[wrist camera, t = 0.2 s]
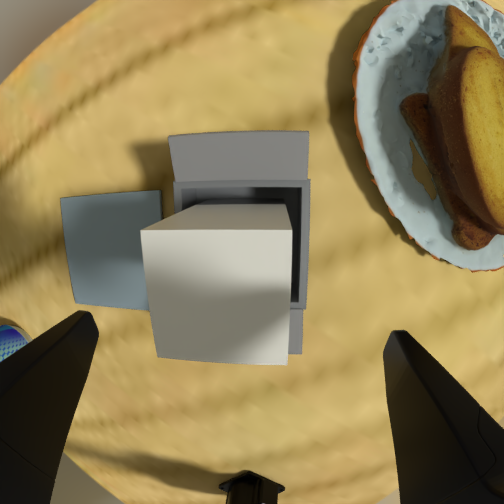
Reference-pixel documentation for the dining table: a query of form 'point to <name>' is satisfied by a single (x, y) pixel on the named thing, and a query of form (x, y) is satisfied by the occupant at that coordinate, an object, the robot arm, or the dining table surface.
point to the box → (221, 281)
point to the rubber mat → (109, 246)
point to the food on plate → (437, 123)
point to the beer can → (12, 340)
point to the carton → (252, 188)
